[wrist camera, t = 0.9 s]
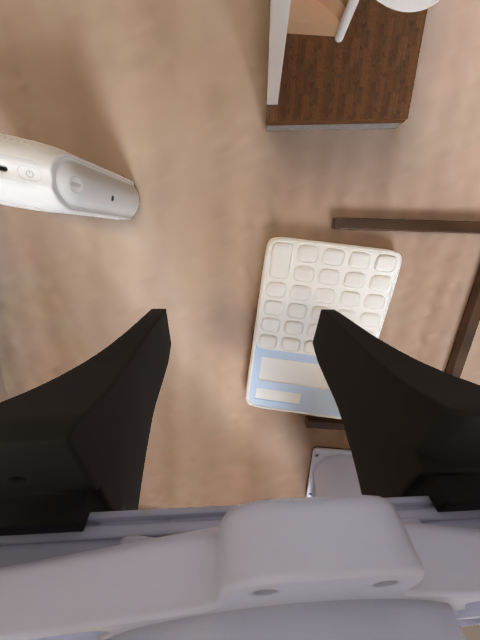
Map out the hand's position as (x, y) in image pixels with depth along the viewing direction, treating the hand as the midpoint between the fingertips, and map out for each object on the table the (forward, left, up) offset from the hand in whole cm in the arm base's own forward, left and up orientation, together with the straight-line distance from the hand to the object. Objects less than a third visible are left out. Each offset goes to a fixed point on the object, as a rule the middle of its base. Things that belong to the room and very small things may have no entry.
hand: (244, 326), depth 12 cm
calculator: (-6, -7, -17) cm, 19 cm away
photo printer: (+8, +17, -17) cm, 25 cm away
